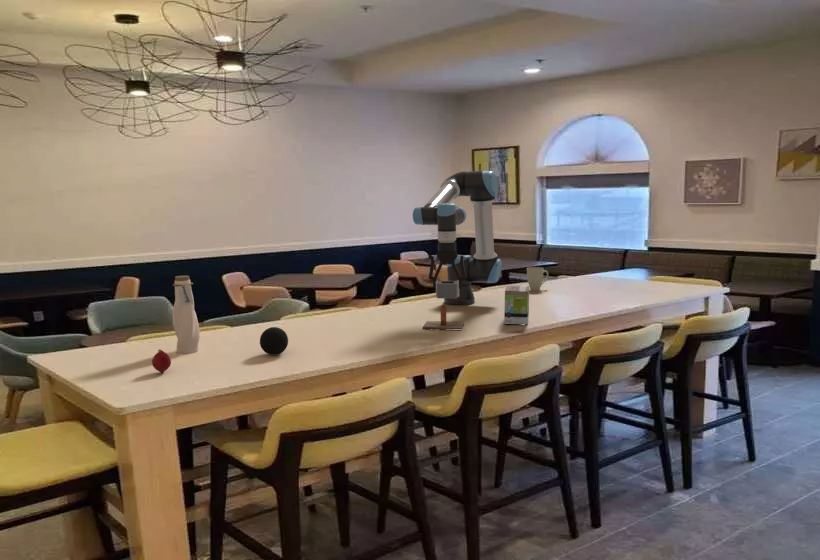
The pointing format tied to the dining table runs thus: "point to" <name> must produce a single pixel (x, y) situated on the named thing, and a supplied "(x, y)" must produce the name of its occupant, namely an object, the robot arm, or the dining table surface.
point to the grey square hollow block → (447, 289)
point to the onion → (161, 361)
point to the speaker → (273, 341)
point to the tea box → (516, 305)
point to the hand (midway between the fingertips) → (447, 296)
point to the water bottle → (185, 317)
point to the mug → (535, 277)
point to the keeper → (442, 322)
